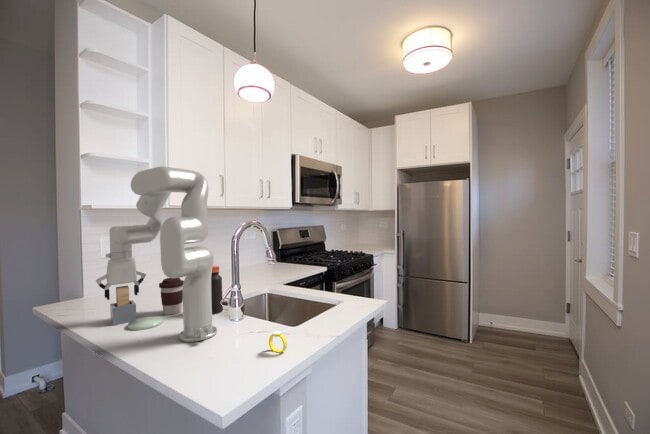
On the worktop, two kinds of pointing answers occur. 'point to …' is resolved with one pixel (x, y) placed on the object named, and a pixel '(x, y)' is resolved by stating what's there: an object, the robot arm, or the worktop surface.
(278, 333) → the yellow ring
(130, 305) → the gray open square box
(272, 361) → the worktop surface
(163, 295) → the coffee cup
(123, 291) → the oak peg
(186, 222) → the robot arm
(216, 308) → the bottle
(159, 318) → the mint green dome
